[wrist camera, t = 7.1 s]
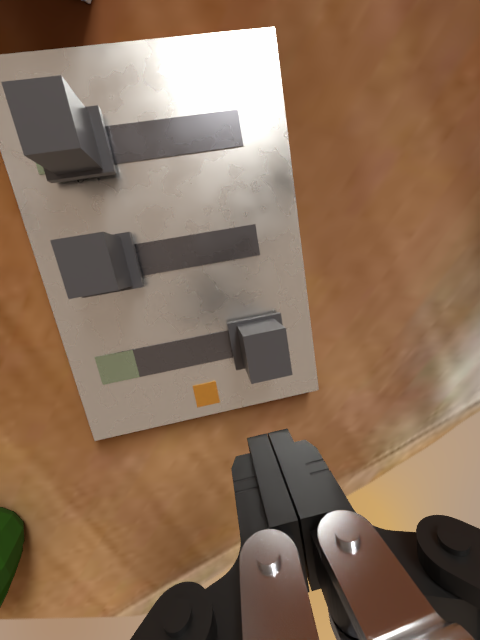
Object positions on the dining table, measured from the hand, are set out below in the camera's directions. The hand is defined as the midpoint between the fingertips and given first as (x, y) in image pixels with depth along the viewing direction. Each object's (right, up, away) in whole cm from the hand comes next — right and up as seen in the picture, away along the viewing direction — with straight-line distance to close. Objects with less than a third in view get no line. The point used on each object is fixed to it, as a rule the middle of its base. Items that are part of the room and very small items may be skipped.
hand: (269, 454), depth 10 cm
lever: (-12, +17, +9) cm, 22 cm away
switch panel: (-6, +10, +14) cm, 18 cm away
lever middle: (-11, +9, +11) cm, 18 cm away
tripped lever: (0, +3, +13) cm, 14 cm away
